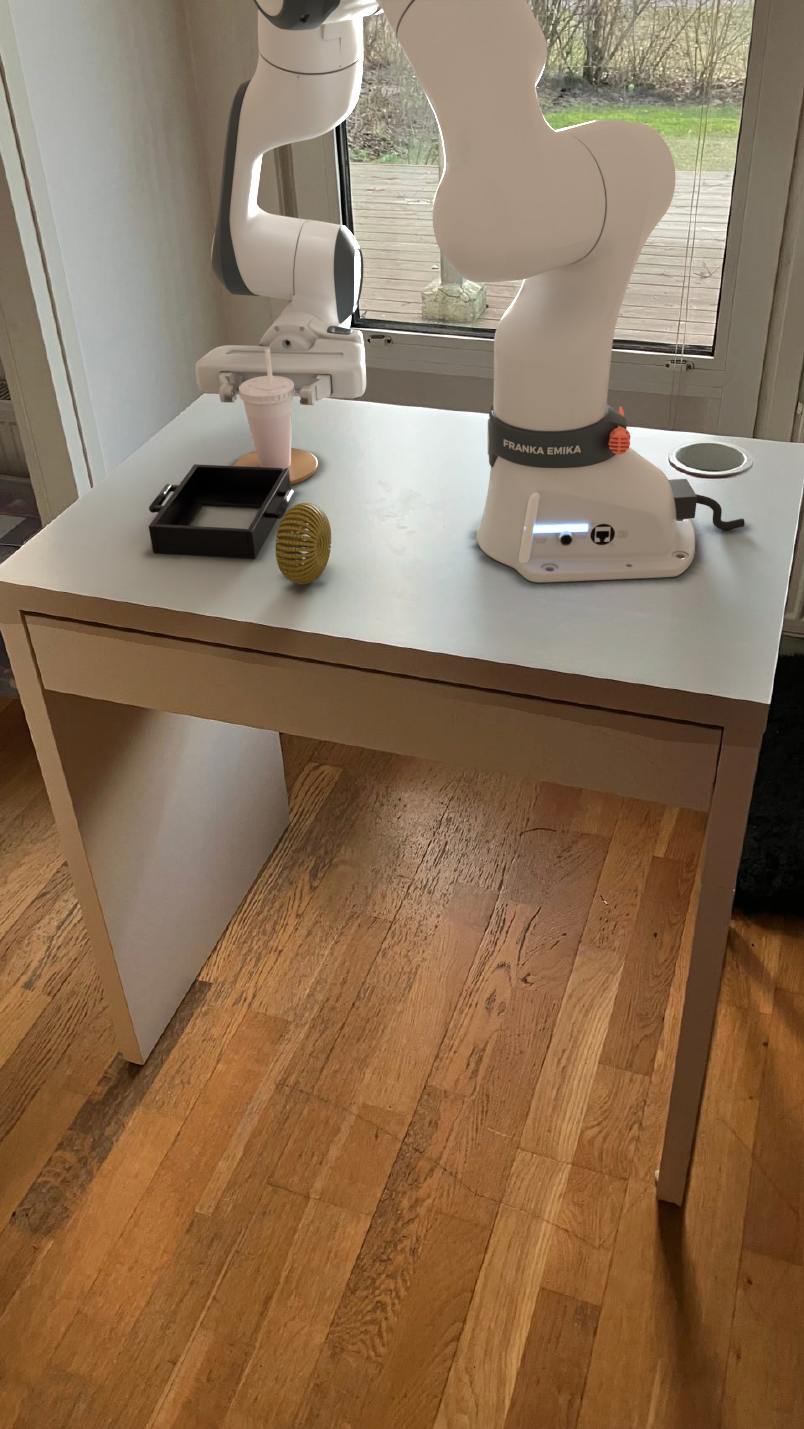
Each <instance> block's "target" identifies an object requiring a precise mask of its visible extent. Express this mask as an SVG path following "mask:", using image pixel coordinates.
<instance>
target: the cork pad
mask: <svg viewBox="0 0 804 1429" xmlns="http://www.w3.org/2000/svg"><path fill="white" fill-rule="evenodd" d="M318 463H319V462H318V459H317V457H316V456H315V455H314V454H312V453H311V452H309V451H306V450H303V449H301V448H295V447H291V463H290V466H289V467H287V468H289V474H290V484H291V485H295V484H298V483H301V482H304V481H306V480H307V479H310V477H312V476H313V475H315V473H316V472H317V470H318V466H319V464H318ZM233 466H245V467H260V466H259V462H258V458H257V454H256V450H255V451H251V452H250V453H249V452H248V453H247V454H244V455H242V456H241V457H240V458H238V459H237V460H236V461H235V462H234V465H233Z"/></svg>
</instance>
